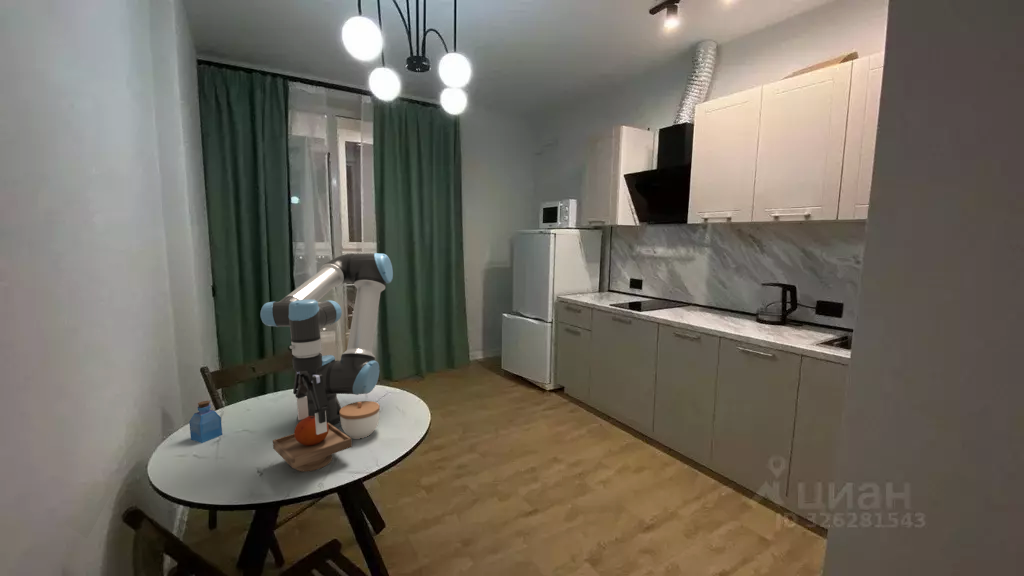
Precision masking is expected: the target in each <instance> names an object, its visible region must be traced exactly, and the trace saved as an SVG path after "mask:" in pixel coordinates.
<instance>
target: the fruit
mask: <svg viewBox="0 0 1024 576" xmlns="http://www.w3.org/2000/svg"><path fill="white" fill-rule="evenodd" d="M293 430H294V433H293V434H294V435H295V438H296V440H297V441H298V442H299V443H301V444H303V445H307V446H311V445H315V444H318V443H320V442H321V441H323V440H324V439H325V438H326V436H327V434H328V431H329V427H328V424H327V432H324V433H321V434H318V435H317V434H316V424H315V416H308V417H306V418H305V419H303V420H301V421H300V422H299V423H298V424H297V423H296V426H295V427H294V429H293Z"/></svg>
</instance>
